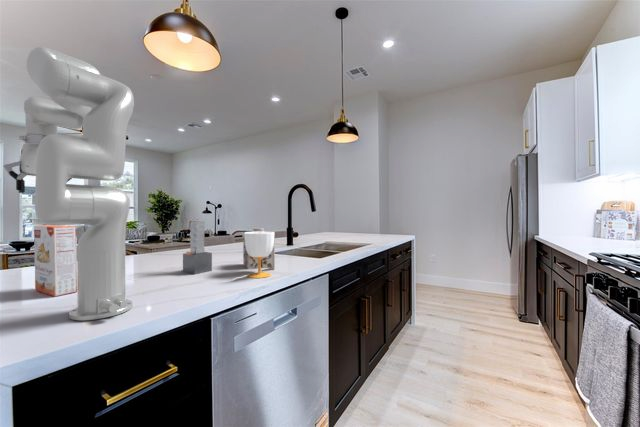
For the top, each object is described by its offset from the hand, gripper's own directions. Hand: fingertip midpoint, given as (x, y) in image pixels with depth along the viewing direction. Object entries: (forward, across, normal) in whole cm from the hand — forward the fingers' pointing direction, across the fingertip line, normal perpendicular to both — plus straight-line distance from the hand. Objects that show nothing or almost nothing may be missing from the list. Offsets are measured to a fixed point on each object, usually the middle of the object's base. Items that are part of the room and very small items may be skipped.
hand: (42, 193), depth 93 cm
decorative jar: (+32, +60, -41) cm, 79 cm away
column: (+30, +38, -29) cm, 56 cm away
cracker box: (+32, 0, -12) cm, 34 cm away
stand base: (+31, +38, -29) cm, 57 cm away
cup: (+31, +50, -51) cm, 78 cm away
